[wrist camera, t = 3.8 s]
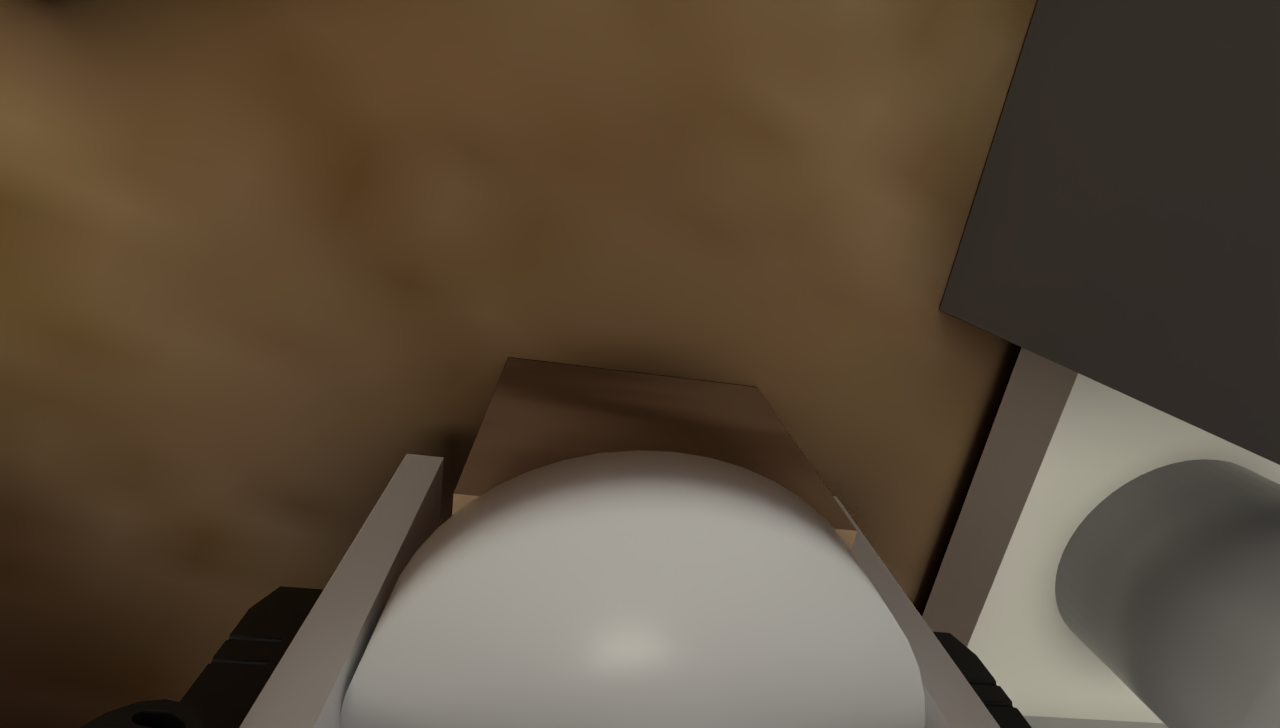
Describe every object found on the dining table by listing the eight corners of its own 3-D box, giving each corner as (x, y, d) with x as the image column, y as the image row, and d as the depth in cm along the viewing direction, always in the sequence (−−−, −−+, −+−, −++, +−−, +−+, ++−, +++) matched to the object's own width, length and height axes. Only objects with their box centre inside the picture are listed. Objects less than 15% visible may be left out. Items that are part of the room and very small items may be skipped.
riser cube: (489, 571, 16) (433, 798, 10) (508, 357, 14) (453, 493, 9) (710, 588, 17) (770, 810, 11) (756, 386, 15) (857, 531, 9)
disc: (372, 837, 11) (336, 949, 9) (380, 421, 8) (333, 482, 7) (809, 848, 12) (841, 952, 10) (937, 478, 9) (1006, 545, 8)
